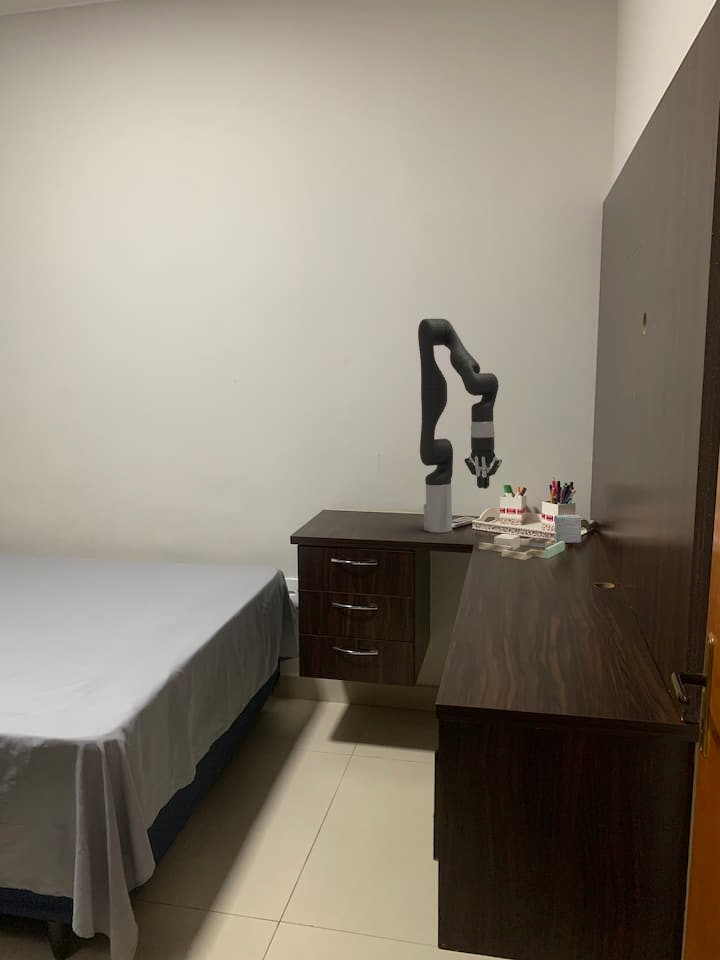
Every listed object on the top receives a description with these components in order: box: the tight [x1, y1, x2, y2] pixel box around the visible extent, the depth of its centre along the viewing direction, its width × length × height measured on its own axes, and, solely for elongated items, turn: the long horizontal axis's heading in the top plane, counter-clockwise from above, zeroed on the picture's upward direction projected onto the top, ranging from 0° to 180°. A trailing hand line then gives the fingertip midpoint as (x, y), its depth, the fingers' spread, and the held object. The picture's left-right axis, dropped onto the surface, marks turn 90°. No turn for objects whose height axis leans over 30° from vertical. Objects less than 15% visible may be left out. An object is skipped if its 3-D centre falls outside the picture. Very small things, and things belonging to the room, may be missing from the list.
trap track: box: [478, 535, 566, 561], centre depth 236 cm, size 24×22×3 cm
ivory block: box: [493, 533, 521, 550], centre depth 239 cm, size 6×6×4 cm
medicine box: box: [554, 514, 582, 544], centre depth 244 cm, size 8×4×9 cm, turn 84°
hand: (483, 487), depth 242 cm, fingers closed
